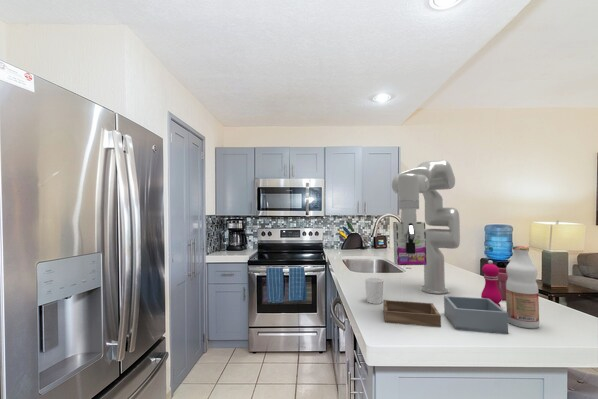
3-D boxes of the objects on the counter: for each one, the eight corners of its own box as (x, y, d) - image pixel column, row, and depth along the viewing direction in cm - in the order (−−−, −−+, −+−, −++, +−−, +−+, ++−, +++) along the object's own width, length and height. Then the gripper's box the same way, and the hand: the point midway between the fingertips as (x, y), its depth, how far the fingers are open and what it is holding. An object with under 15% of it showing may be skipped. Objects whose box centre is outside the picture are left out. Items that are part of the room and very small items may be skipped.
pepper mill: (505, 311, 120) (504, 262, 120) (485, 310, 121) (484, 261, 122) (497, 305, 127) (495, 259, 127) (478, 304, 128) (477, 258, 129)
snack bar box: (421, 262, 116) (420, 221, 117) (426, 265, 111) (426, 222, 112) (393, 263, 116) (392, 221, 116) (397, 265, 111) (396, 222, 112)
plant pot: (481, 295, 141) (480, 269, 142) (499, 292, 147) (498, 266, 147) (513, 304, 128) (512, 275, 129) (531, 300, 134) (531, 272, 134)
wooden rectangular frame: (383, 309, 122) (383, 300, 122) (432, 313, 117) (432, 303, 117) (385, 322, 108) (385, 311, 108) (441, 327, 104) (440, 315, 104)
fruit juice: (500, 320, 110) (498, 245, 111) (520, 318, 112) (518, 244, 113) (525, 330, 101) (522, 248, 102) (546, 327, 103) (543, 247, 104)
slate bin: (444, 313, 117) (444, 295, 117) (489, 316, 113) (489, 298, 114) (455, 329, 102) (455, 309, 102) (508, 333, 98) (507, 312, 98)
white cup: (384, 300, 135) (383, 278, 135) (383, 305, 127) (382, 282, 128) (366, 298, 137) (366, 277, 138) (364, 303, 130) (364, 280, 130)
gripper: (396, 205, 123) (397, 248, 123) (400, 205, 107) (401, 255, 106) (415, 205, 122) (416, 249, 121) (422, 205, 105) (423, 256, 104)
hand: (409, 251), depth 114 cm, fingers closed on snack bar box, 5 cm apart
